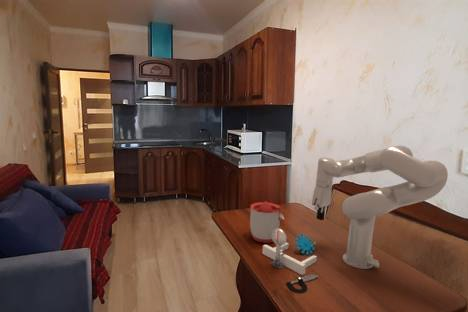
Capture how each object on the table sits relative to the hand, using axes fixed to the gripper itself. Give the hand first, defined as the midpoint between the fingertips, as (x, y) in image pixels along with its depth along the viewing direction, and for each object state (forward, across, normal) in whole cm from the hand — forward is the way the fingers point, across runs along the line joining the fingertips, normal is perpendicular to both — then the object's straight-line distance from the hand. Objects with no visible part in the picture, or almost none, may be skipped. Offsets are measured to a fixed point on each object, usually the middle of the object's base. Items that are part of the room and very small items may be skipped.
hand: (320, 219), depth 141 cm
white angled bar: (+13, +23, +1) cm, 27 cm away
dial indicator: (+13, +31, +1) cm, 33 cm away
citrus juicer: (+14, +16, -20) cm, 30 cm away
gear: (+14, +11, +1) cm, 18 cm away
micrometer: (+14, +34, +17) cm, 40 cm away
